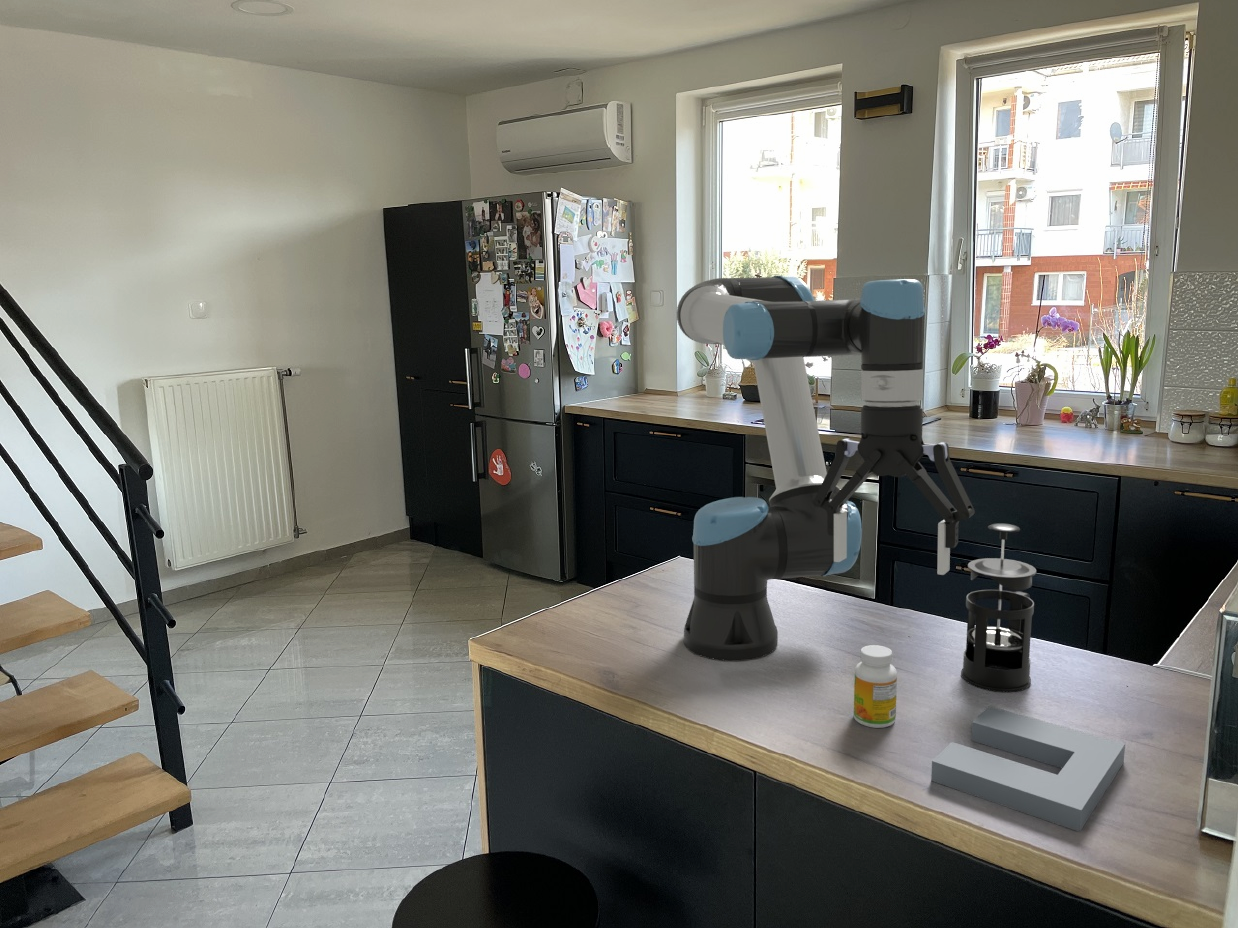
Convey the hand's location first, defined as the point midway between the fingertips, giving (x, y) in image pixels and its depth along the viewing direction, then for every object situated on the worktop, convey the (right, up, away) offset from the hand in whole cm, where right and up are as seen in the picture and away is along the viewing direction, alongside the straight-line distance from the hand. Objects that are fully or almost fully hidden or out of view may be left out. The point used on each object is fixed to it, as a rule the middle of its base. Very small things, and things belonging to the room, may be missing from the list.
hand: (890, 566), depth 119 cm
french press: (+20, -18, +14) cm, 30 cm away
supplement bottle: (-1, -21, +2) cm, 21 cm away
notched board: (+13, -23, -11) cm, 29 cm away
